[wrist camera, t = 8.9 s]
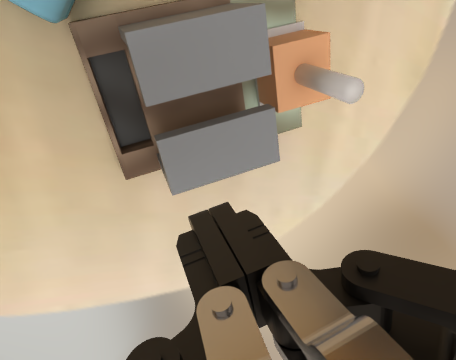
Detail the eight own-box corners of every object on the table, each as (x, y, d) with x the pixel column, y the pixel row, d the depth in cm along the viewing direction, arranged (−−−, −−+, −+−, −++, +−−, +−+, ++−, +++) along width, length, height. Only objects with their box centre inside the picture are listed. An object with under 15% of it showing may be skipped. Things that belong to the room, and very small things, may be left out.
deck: (70, 22, 32) (68, 23, 29) (282, -20, 36) (293, -22, 34) (124, 170, 40) (126, 179, 37) (292, 120, 44) (301, 126, 42)
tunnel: (117, 26, 31) (124, 32, 24) (230, 3, 33) (264, 3, 26) (158, 161, 38) (172, 195, 31) (249, 134, 40) (280, 160, 33)
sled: (249, 32, 35) (318, 46, 24) (301, 20, 36) (389, 28, 25) (258, 107, 39) (321, 147, 28) (304, 94, 40) (381, 127, 29)
